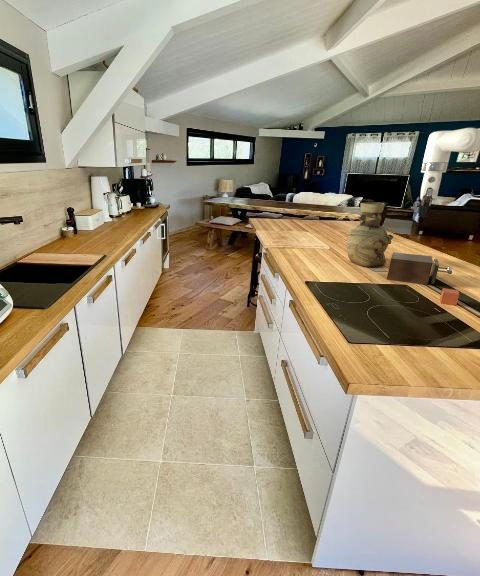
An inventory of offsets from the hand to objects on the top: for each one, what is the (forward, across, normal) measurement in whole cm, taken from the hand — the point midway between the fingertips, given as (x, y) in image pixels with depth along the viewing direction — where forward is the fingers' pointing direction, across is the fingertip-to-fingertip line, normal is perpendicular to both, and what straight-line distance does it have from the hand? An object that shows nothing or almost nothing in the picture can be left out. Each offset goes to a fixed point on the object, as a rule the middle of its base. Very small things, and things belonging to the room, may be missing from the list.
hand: (422, 215), depth 121 cm
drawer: (+28, +9, -5) cm, 29 cm away
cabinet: (+28, +9, 0) cm, 30 cm away
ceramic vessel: (+29, +27, +19) cm, 44 cm away
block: (+28, -15, -13) cm, 35 cm away
